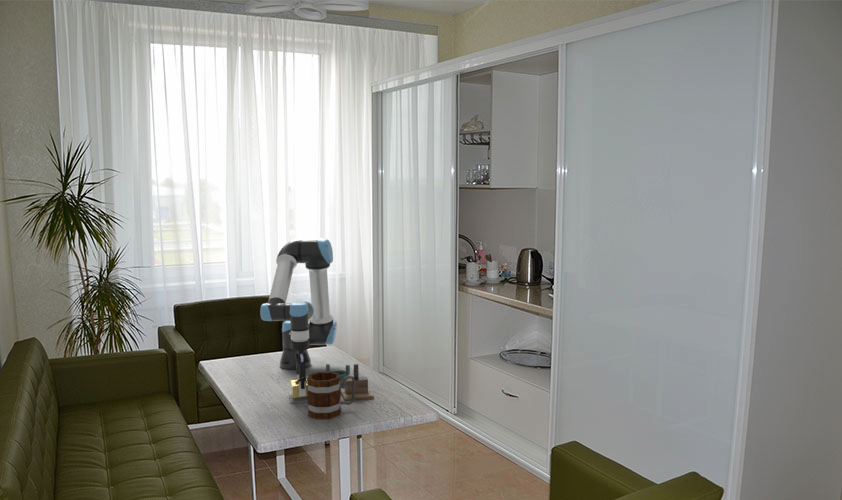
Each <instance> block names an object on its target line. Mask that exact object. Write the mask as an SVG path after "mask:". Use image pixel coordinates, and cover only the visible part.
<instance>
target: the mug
mask: <svg viewBox="0 0 842 500" xmlns="http://www.w3.org/2000/svg"><path fill="white" fill-rule="evenodd" d="M349 378H352V381H353V384H352V398H351V401H345V400H341V395H342V394H341V390H340V389H341V387H340V385H341V384H344V383H345V382H346V380H347V379H349ZM306 379H307V383H308V402H307V404H308V406H307V407H308V411H307V416H308V417H309V418H312V419H315V420H331V419H334V418H337V417H340V416H341V413H342V408H341V405H347V406H350V405H351V404H353V403H354V399H355V384H356V382H355V379H354V375H353V376H352V375H350V374H349V375H347V376H346V377H345V378H344V379H343V380H342V381H340V374H338V373H335V372H331V371H330V372H326V371H318V372H314V373H311V374H308V376H307V377H306Z"/></svg>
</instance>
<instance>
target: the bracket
mask: <svg viewBox="0 0 842 500" xmlns="http://www.w3.org/2000/svg"><path fill="white" fill-rule="evenodd" d="M330 368H331V364H328V363H327V364H325V372H335V373H338V374H340V381H342V380H343V379H344V378H345V377H346V376H348V375H349V376H350V374H351V371H350V370H351V369H350V368H351V367H350V364H345V370H340V369H339V370H332V371H331V369H330ZM342 387H345V383H344V384H341V385H340V388H342Z"/></svg>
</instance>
